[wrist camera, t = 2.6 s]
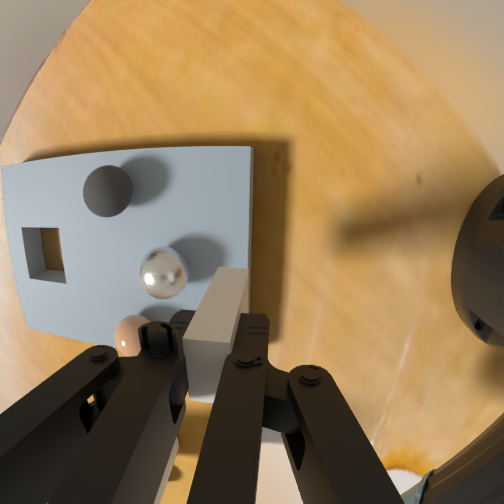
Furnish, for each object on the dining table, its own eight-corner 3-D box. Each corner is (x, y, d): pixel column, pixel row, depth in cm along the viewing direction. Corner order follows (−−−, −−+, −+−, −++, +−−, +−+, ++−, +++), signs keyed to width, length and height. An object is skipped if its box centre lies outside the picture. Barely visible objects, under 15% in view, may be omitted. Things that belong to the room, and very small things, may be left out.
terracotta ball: (162, 309, 21) (146, 332, 18) (167, 347, 22) (152, 372, 19) (123, 304, 22) (102, 325, 19) (129, 341, 23) (111, 364, 20)
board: (254, 147, 20) (250, 146, 18) (249, 346, 25) (245, 365, 22) (19, 163, 22) (1, 166, 19) (41, 316, 26) (27, 327, 24)
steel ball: (194, 241, 20) (178, 257, 17) (195, 288, 21) (182, 310, 18) (147, 239, 20) (126, 254, 17) (151, 284, 21) (132, 305, 18)
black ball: (140, 162, 19) (116, 165, 16) (142, 212, 20) (119, 222, 17) (99, 165, 19) (71, 168, 16) (101, 212, 20) (74, 222, 17)
